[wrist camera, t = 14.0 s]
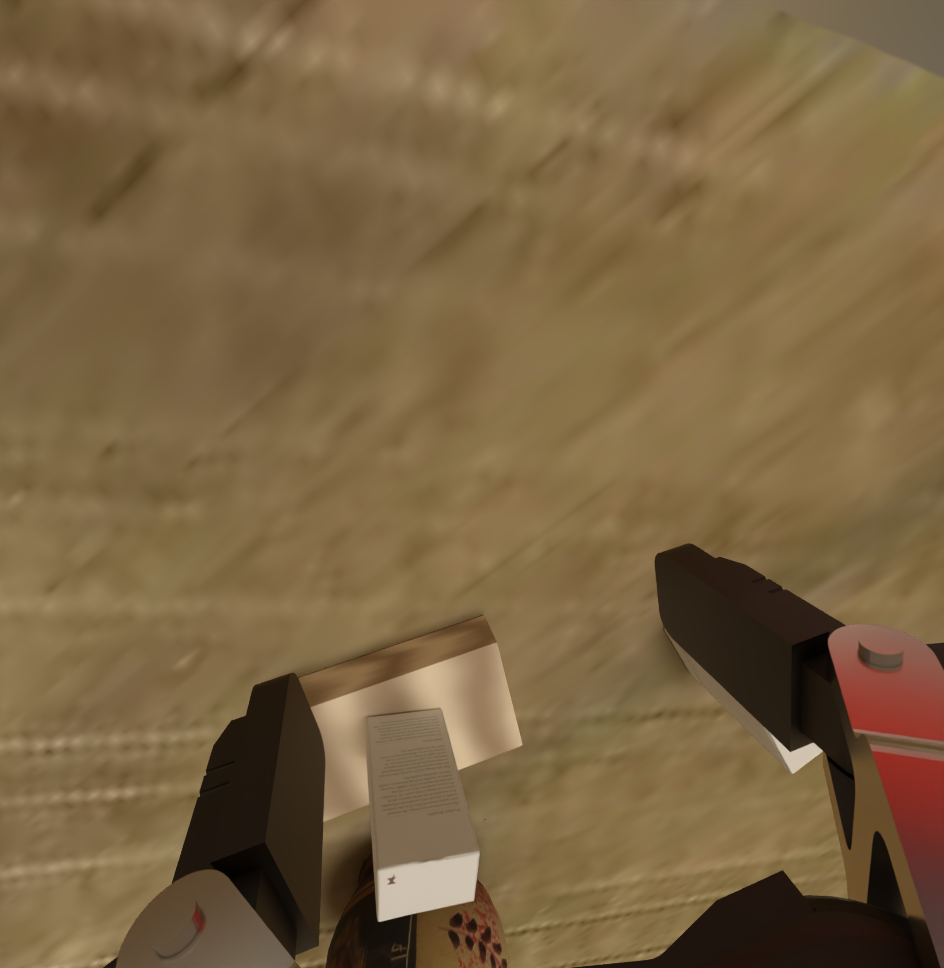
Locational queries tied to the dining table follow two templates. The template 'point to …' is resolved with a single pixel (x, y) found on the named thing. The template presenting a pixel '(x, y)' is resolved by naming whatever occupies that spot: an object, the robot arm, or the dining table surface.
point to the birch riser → (412, 703)
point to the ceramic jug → (417, 934)
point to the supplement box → (748, 717)
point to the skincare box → (418, 816)
